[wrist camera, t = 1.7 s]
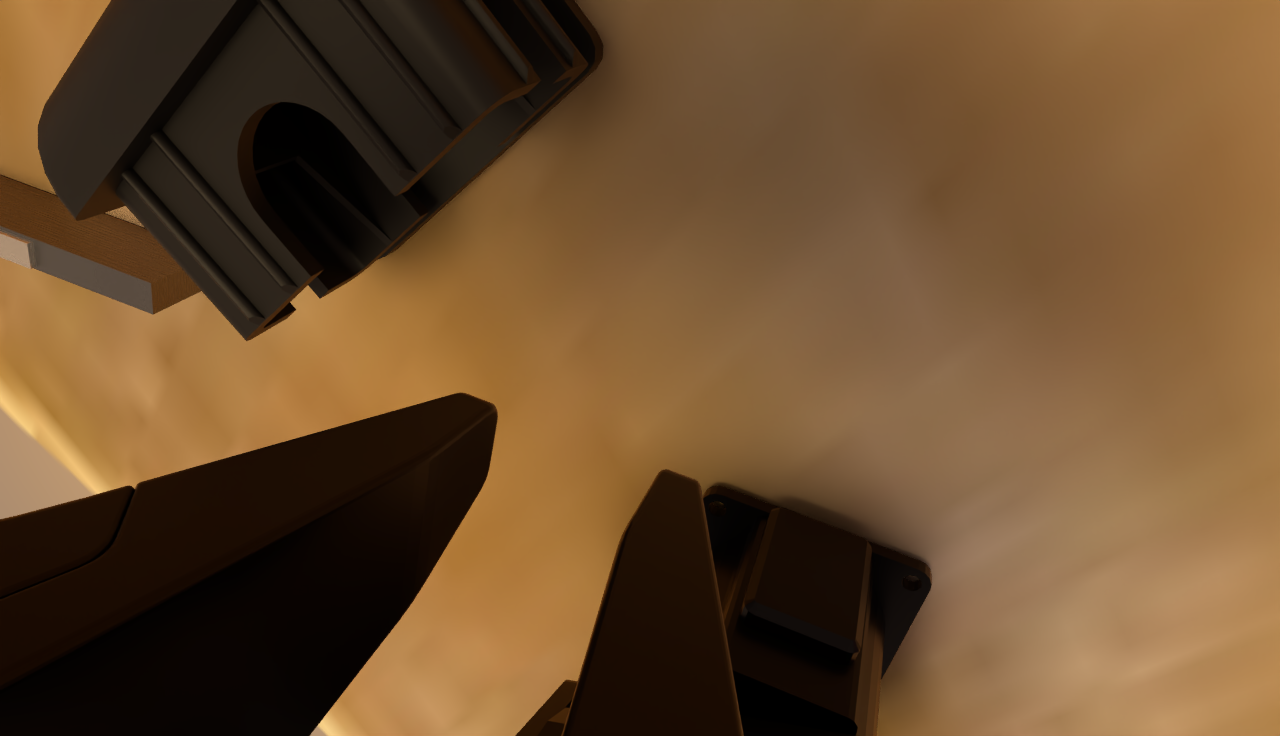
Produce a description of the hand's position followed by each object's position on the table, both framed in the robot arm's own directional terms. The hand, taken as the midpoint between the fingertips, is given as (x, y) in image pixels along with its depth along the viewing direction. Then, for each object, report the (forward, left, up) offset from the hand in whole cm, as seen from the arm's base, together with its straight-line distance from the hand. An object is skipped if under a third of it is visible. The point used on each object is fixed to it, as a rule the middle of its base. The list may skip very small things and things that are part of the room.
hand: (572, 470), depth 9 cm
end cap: (0, +10, -13) cm, 17 cm away
